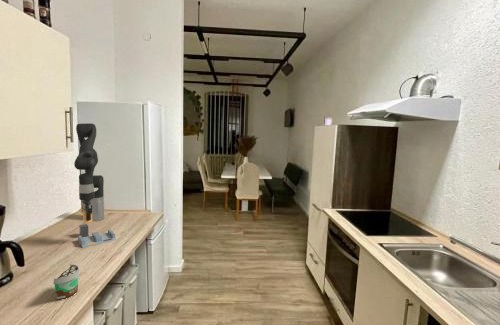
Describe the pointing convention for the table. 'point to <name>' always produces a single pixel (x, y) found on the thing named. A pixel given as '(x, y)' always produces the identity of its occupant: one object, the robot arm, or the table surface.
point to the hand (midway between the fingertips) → (87, 219)
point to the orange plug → (85, 216)
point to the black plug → (84, 230)
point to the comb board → (90, 240)
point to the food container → (67, 283)
